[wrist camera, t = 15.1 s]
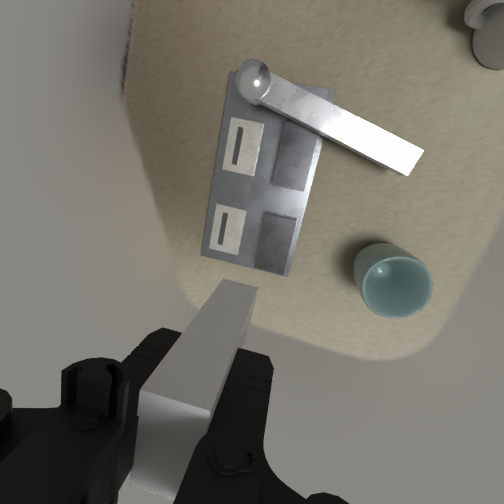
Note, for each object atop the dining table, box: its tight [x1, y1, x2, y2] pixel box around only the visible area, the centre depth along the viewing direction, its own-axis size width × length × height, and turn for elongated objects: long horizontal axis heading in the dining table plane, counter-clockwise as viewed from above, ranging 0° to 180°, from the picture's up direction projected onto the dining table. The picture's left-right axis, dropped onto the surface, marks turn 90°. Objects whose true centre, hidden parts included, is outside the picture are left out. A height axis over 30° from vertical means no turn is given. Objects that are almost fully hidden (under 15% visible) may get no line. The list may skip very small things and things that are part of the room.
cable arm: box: [235, 59, 424, 176], centre depth 34 cm, size 22×4×3 cm, turn 64°
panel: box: [201, 71, 336, 277], centre depth 40 cm, size 26×14×4 cm, turn 168°
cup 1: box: [353, 243, 433, 318], centre depth 38 cm, size 8×8×10 cm
